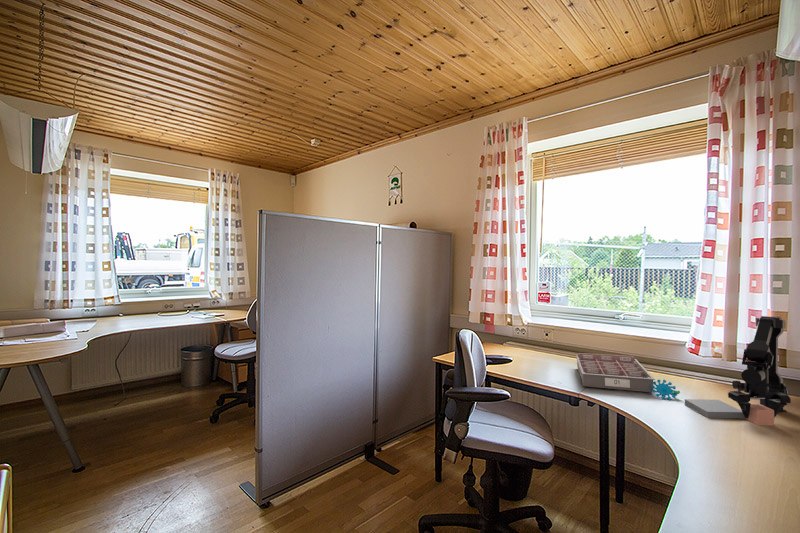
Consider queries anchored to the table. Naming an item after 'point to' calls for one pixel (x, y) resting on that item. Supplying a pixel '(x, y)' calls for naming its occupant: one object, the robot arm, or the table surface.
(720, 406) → the plinth
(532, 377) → the table surface
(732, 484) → the table surface
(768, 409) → the salmon pink cube
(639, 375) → the organizer tray
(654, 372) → the table surface
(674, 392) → the blue spiky toy
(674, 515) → the table surface
